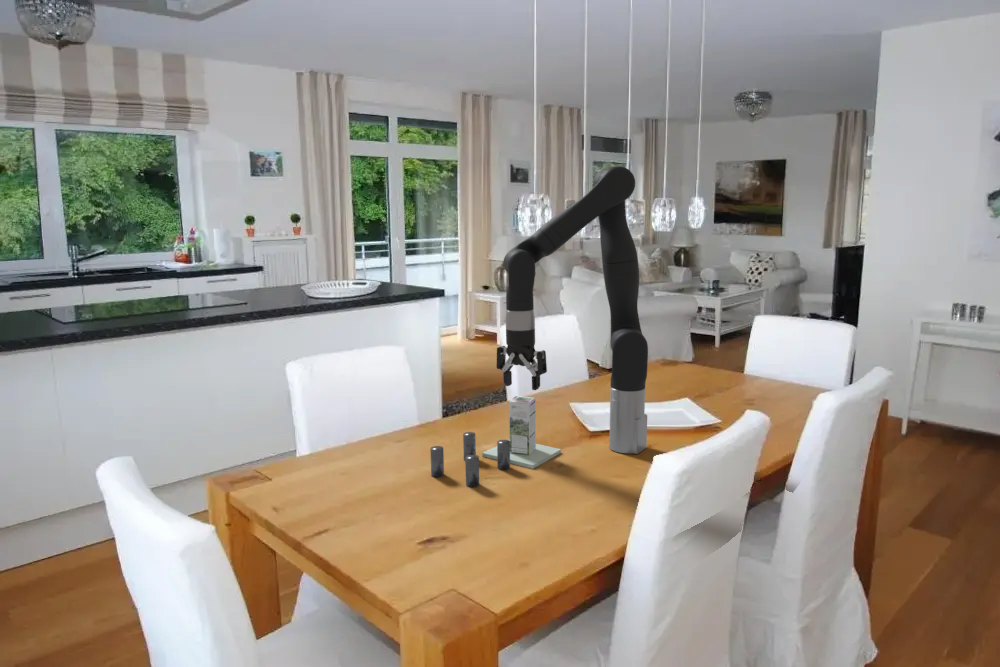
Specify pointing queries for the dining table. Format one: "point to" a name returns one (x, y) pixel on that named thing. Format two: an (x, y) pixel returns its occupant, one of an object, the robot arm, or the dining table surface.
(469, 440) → the cylinder
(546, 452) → the sage board
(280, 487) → the dining table surface
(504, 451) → the cylinder
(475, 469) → the cylinder
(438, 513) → the dining table surface
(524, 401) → the syrup box
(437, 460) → the cylinder
